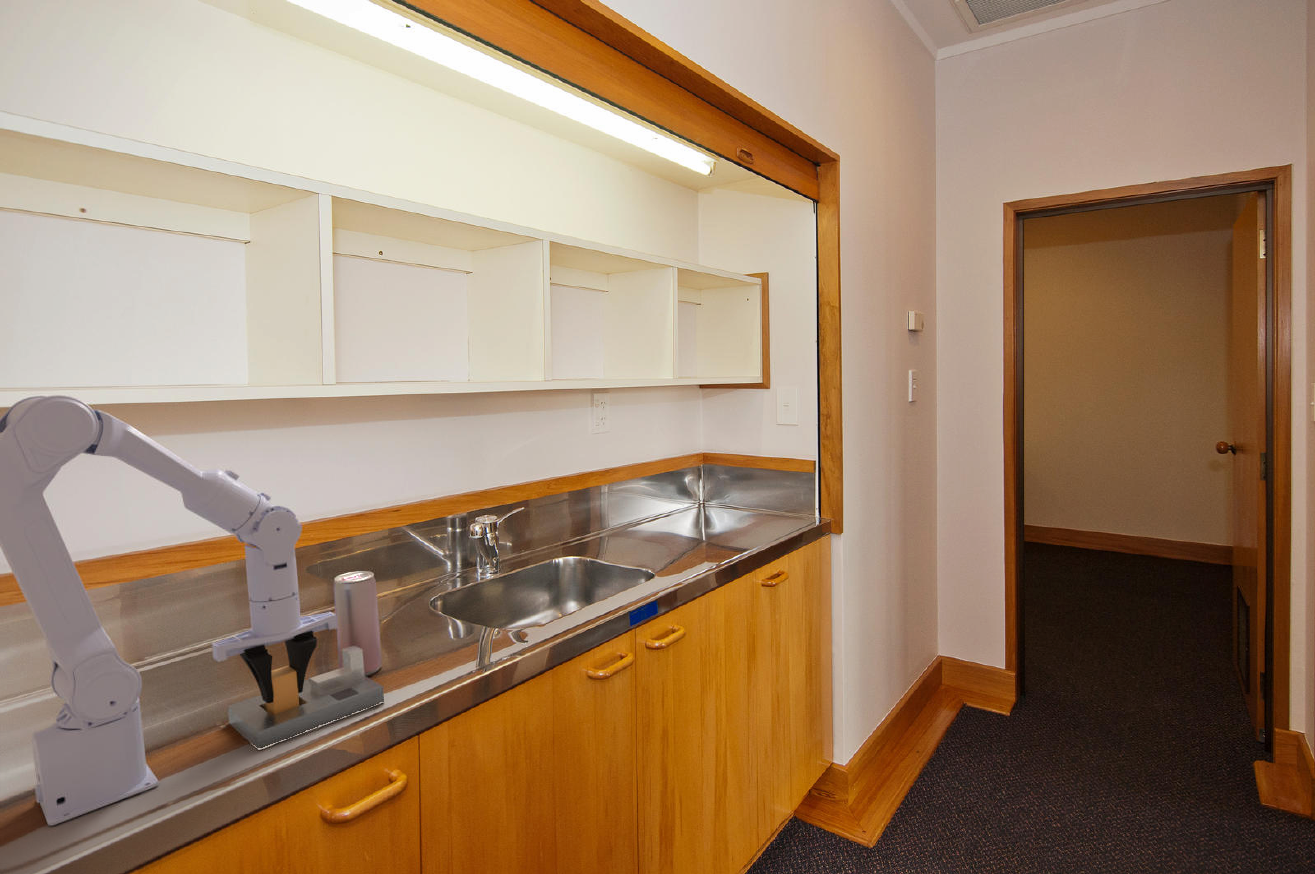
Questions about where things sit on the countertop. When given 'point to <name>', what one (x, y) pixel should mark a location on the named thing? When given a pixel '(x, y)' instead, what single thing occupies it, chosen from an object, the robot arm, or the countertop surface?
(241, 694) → the countertop surface
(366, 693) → the rosette plate
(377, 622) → the beverage can
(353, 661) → the bracket
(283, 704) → the orange rectangular block
